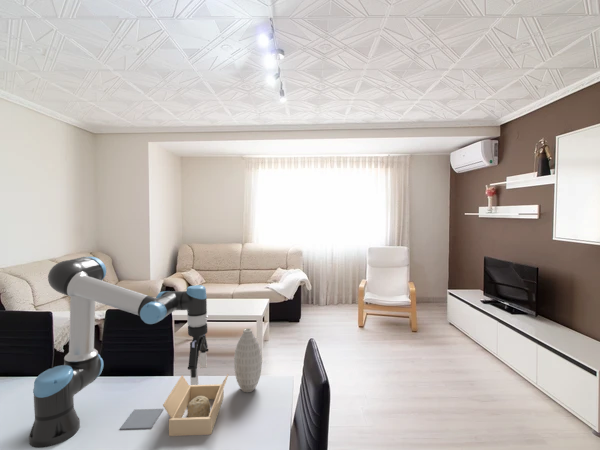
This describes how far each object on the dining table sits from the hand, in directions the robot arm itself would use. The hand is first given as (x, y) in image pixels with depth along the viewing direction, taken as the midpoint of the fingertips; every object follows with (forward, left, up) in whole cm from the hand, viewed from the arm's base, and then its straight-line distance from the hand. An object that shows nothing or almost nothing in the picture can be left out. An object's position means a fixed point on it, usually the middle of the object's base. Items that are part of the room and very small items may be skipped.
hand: (199, 375), depth 131 cm
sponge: (0, 0, -17) cm, 17 cm away
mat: (-22, -1, -16) cm, 28 cm away
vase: (+18, +19, -17) cm, 31 cm away
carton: (0, 0, -16) cm, 16 cm away
